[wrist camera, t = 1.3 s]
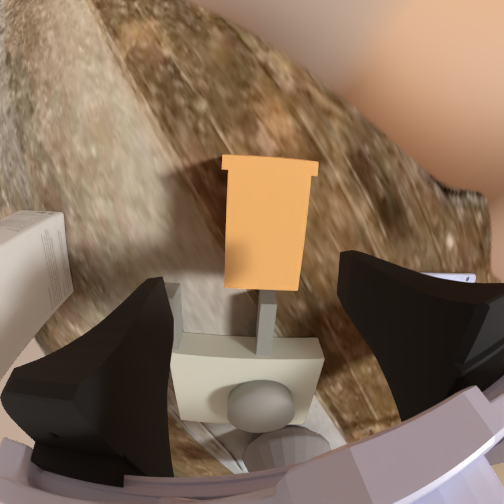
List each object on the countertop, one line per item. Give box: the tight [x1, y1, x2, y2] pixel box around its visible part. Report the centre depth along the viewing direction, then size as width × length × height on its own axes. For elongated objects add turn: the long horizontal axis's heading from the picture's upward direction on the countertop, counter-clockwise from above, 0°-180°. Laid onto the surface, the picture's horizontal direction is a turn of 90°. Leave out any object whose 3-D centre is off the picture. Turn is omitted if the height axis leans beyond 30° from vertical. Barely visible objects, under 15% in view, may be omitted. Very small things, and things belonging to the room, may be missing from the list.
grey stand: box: [165, 283, 325, 433], centre depth 23 cm, size 13×15×5 cm
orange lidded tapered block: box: [222, 154, 319, 291], centre depth 18 cm, size 5×8×5 cm
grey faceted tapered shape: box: [242, 426, 331, 472], centre depth 25 cm, size 21×12×15 cm, turn 27°
